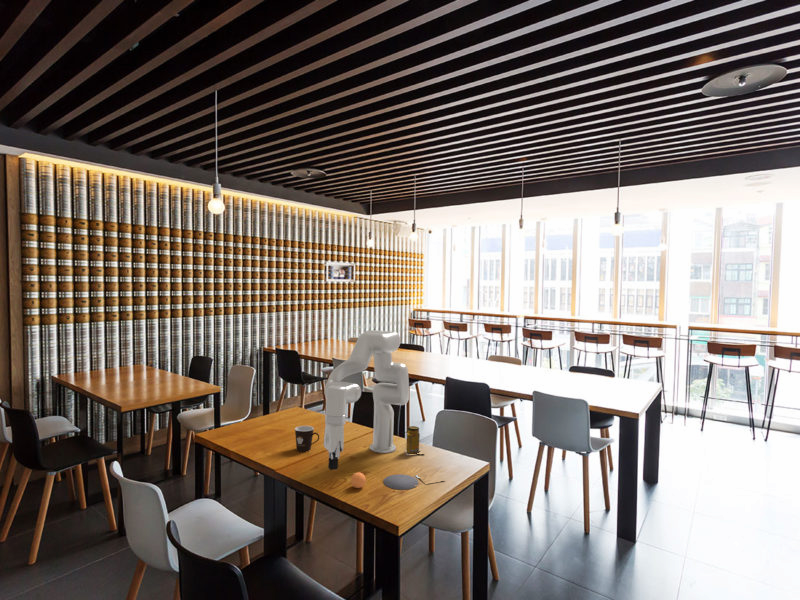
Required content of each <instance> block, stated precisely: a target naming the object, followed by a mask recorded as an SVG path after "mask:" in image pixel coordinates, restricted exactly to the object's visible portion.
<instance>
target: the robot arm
mask: <svg viewBox="0 0 800 600" xmlns="http://www.w3.org/2000/svg"><path fill="white" fill-rule="evenodd" d="M400 345H401V337H400V334H399V333H398V332H396V331H391V330H390V331H388V330H387V331H386V330H375V329H373V330H372V329H371V330H370V329H369V330H366V331H364V332H363V333H361V334H359V336H358V338H357V340H356V342H355V344H354V347H353V349H352V351H351V353H350V355H349V357H348V359H346V360H344V361H343V362H342V363H340V364H339V365H337V366H336V367H335V368H334V369H333V370H332V371H331V372H330V375H329V376H328V378H327V380H326V383H325V386H324V392H323V393H324V397H325V415H324V419H325V420H324V424H325V426H324V437H323V447H324V448H325V450H326V451H328V469H329V470H330V471H334V470H338V468H339V458H340V456H341V453H342V452H343V451H344V445H345V442H344V440H345V436H344V435H345V434H344V430H345V429H344V427H345V426H344V425H346V414H347V404H353V403H356V402H358V401H359V399H360V398H361V396H362V388H361V387H360V385H359V384H357V383H354V382H347V381H342V380H343V379H344V378H347V377H349V376H351V375H354V374H357V373H361V372H363V371H365V370H367V369H368V367H369V365H370V362H371V360H372V357H373V367H374V376H375V379H376V381H377V382H378V383H376V384H374V387H373V389H372V398H373V433H372V434H373V435H372V443H371V444H370V445H369V450H370V451H372V452H373V453H374V452H375V453H378V454H380V453H381V454H389V453H393V452H395V451H396V450H397V446H396V445H395V444H394V424H395V423H394V422H395V421H394V419H395V418H394V417H395V412H394V408H393V407H392V405H396V406H404V405H407V403H408V402H409V399H410V383H409V382H410V380H409V369H408V367H407V365H406V364H404V363H401V362H393V357H392V353H393V352H395V351H397V350H398V349H399V347H400Z"/></svg>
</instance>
